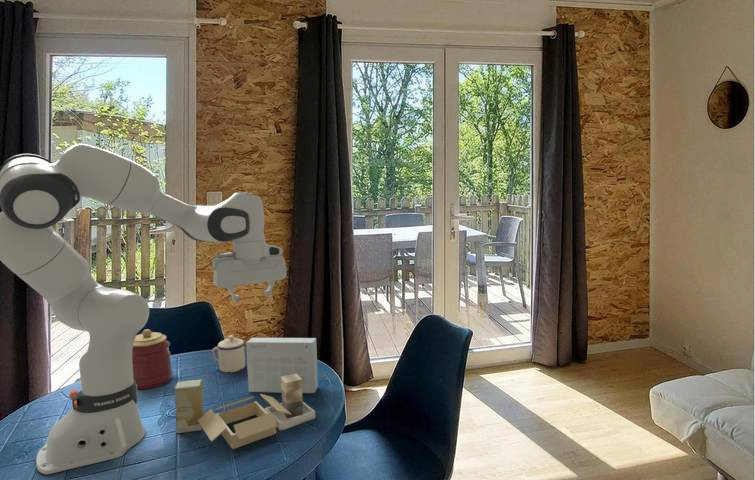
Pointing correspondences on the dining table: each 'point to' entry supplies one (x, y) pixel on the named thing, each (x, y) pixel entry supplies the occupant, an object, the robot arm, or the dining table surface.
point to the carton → (244, 430)
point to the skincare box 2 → (281, 363)
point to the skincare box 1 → (188, 405)
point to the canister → (151, 360)
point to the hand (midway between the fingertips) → (252, 298)
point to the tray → (290, 422)
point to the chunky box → (292, 395)
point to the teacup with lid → (230, 354)
